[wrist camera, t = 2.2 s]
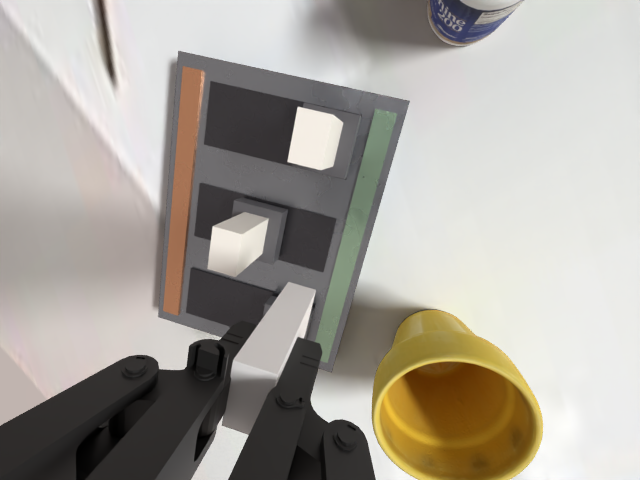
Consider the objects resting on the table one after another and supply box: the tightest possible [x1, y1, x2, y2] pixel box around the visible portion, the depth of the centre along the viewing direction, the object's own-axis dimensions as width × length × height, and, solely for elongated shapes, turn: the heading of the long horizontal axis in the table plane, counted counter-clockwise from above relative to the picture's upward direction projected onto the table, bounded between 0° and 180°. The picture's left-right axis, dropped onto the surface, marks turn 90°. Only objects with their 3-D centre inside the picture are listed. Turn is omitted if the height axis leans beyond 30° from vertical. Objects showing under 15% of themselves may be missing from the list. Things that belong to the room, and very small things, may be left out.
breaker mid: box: [207, 197, 288, 277], centre depth 23 cm, size 4×4×7 cm
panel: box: [158, 51, 409, 372], centre depth 28 cm, size 24×18×2 cm
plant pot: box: [372, 310, 543, 480], centre depth 24 cm, size 10×10×10 cm
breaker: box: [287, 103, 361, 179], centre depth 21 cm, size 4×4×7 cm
